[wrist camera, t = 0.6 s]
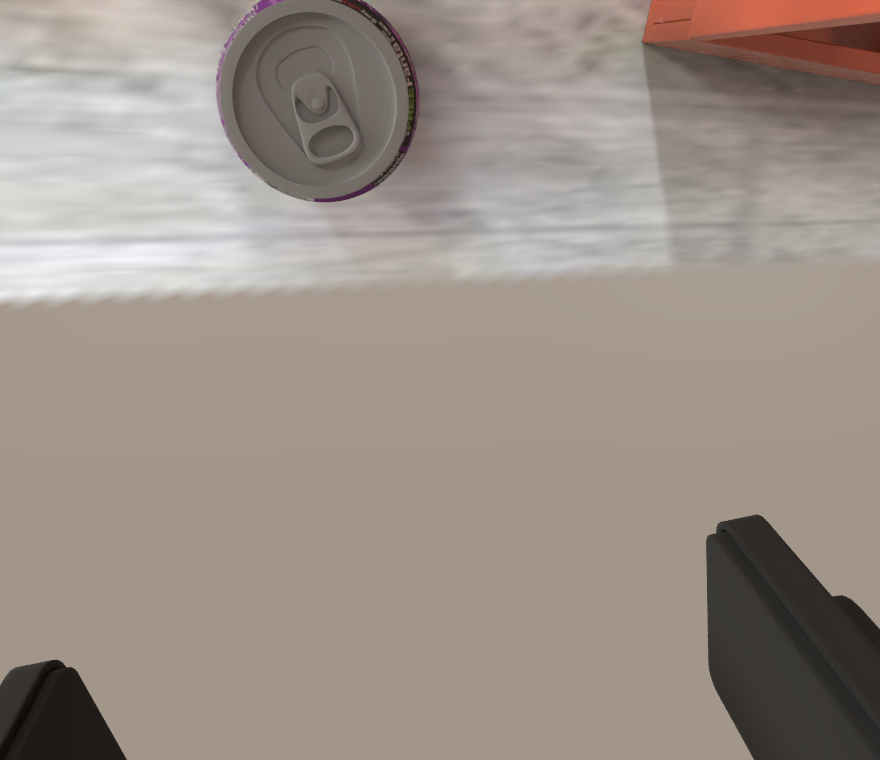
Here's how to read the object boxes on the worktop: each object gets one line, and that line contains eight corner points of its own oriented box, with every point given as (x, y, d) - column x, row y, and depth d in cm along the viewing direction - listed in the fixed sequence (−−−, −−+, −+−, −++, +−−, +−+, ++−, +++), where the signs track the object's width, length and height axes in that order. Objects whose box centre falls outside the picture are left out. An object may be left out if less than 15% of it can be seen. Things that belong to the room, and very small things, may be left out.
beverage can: (426, 135, 35) (452, 170, 24) (295, 185, 35) (263, 241, 25) (374, -18, 32) (376, -57, 21) (231, 38, 32) (162, 29, 22)
